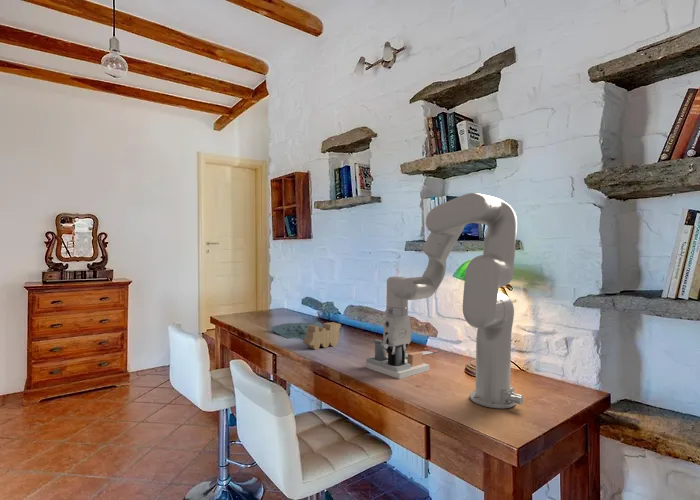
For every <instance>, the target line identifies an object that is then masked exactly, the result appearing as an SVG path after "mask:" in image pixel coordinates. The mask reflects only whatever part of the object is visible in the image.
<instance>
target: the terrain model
mask: <svg viewBox="0 0 700 500" xmlns="http://www.w3.org/2000/svg"><path fill="white" fill-rule="evenodd" d="M308 325H314V326H318V327H322V328H323V323H321V322H319V321H314V322H306V323H304V322H296V323H295V322H287V323H282V324H278V325H277V324H276V325H273V326H269V329H270V330H271V331H273V332H274V333H276V334H277V335H279V336H281V337H284V338H285V339H288V340H290V339H300V340H302V341H303V340H304V338H305V337H306V331H307V330H308Z"/></svg>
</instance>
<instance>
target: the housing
mask: <svg viewBox="0 0 700 500" xmlns="http://www.w3.org/2000/svg"><path fill="white" fill-rule="evenodd" d="M373 343H374V355H373V356H369V357H366V361H365V368H366V369H369V370H372V371H375V372H378V373H381V374H384V375H386V376H389V377H393V378H395V379H398V380H402V379H405V378H408V377H412V376H415V375H418V374H421V373H425V372H428V371H430V369H431V368H430V366H431V365H430V364H428V363H425V361H424V360H423V364H420V365H416V366H411V364H409V363H407V357H406V353H407V351H406V352H405V363H404V364H403V363H402V365H401V366H392V365H389V364H388V356H386V355H387V354H386V353H387V351H386V350H385V349H384V348H383V347H382V343H383V340H381V339H373Z"/></svg>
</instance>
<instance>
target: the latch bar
mask: <svg viewBox="0 0 700 500" xmlns="http://www.w3.org/2000/svg"><path fill="white" fill-rule="evenodd" d="M422 352H423V351H418V350H417V351H414V352H408V353H409V354H408V356H407V363H409V364H411V366H416V365H420V364H423V361H424V360H423V359H424V358H423V356H424V355H423V353H422Z"/></svg>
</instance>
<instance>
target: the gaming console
mask: <svg viewBox="0 0 700 500" xmlns="http://www.w3.org/2000/svg"><path fill="white" fill-rule="evenodd" d="M412 349H413V348H412ZM412 349H410V350H412ZM418 349H420V350H421V347H420V348H418ZM422 350H423V351H421V352H422V353H423V356H425V355H426V356H427V355H431V354H433V355H434V354H438V353H441V351H440V350H437V349H436V350H435V349H431V350H430V347H424V349H423V348H422ZM409 353H410V352H406V357H407V356H408V354H409Z"/></svg>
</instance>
